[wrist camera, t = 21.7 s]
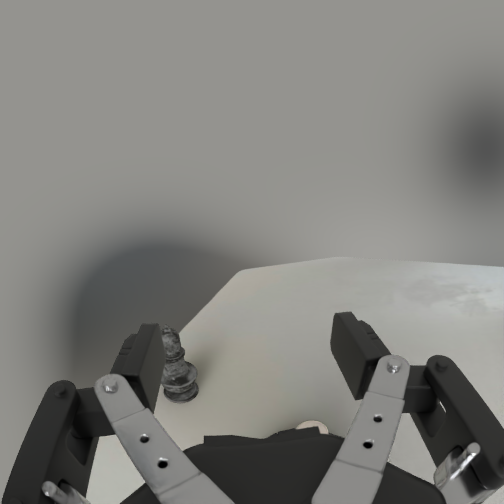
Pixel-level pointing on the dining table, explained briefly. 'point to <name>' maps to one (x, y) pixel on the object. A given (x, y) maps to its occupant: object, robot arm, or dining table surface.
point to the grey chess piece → (177, 370)
